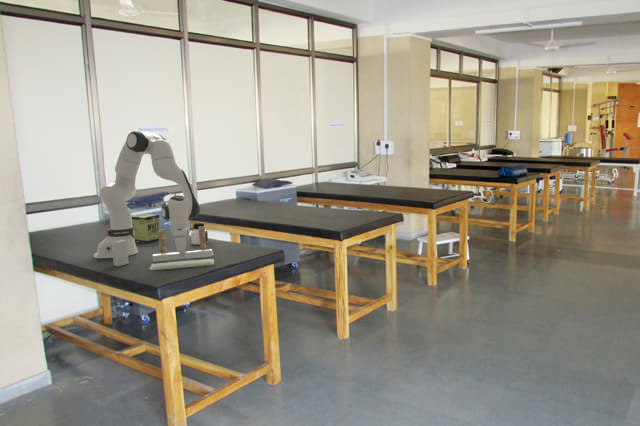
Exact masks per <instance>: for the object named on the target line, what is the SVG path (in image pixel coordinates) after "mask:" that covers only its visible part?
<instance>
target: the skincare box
mask: <svg viewBox="0 0 640 426" xmlns="http://www.w3.org/2000/svg"><path fill="white" fill-rule="evenodd" d="M111 244H112V253H113V258H112V262H113V266H115V267H120V266H121V267H122V266H125V265H129V264H130V263H129V256H128V250H127V241H126V240H119V241H115V242H111Z"/></svg>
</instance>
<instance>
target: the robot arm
mask: <svg viewBox="0 0 640 426" xmlns="http://www.w3.org/2000/svg"><path fill="white" fill-rule="evenodd" d="M144 155H150V159H151V165H152V167H153V172H154V174H155V175H156V176H157V177H159V178H162V179H163V180H166V181H170V182H173V183H176V184H178V185H179V188H180V189H181V191H182V194H183V195H178V194H177V195H172V196H170V197H169V199H168V201H166V202H164V203H163V204H162V205H161V207H160V209H161V217H162V218H163V219H164V220H165V221H169V222H170V233H171V235H172V237H174V243H175V248H176V252H180V257H181V259H180V260H185V259H184V252H185V251H186V246H187V237H188V235H189V233H191V227H190V220H195V219H196V218H197V217H198V216H199V215H200V212H201V208H200V205H199V202H198V201H197V199H196V196H195V194H194V192H193V189H192V187H191V185H190V181H189V179H188V177H187V175H186V173H185V171H184V170H183V169H182V168H180V167H179V165H178V164H177V163H176V159H175V155H174V152H173V149H172V147H171V144H170V142H169V141H168V140H167V138H165V137H164V136H163V135H161V134H156V133H153V132H148V131H147V132H146V131H140V130H134V131H133V130H132V131H131V132H130V133H128V135H127V136H126V141H125V142H124V144H123V145H122V147H121V150H120V152H119V155H118V157H117V161H116V164H115V167H114V172H115V180H114V182H111V183H108V184H106V185H104V186H103V187H102V188H101V189H100V190H99V199H100V201H101V202H102V203H104V204H105V207H106V210H107V212H108V216H109V225H110V228H108V229H107V230H106V231H107V232H106V234H107V236H106V237H105V238H104V239H102V241H101V242H99V243H98V245H97V252H95V253H94V254H93V259H113V253H112V244H111V242H115V241H119V240H126V241H127V250H128V257H130V256H132V255H136V254H138V253H139V250H138V247H137V244H136V242H135V239H134V237H135V233H134V227H133V224H132V216H133V214H132V212H131V211H130V210H129V208H128V206H127V202H126V201H130V200H131V199H133V198H134V197H135V195H136V194H137V187H136V178H137V175H138V171H139V168H140V166H141V162H142V158H143V156H144Z"/></svg>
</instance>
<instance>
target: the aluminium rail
mask: <svg viewBox="0 0 640 426" xmlns="http://www.w3.org/2000/svg"><path fill="white" fill-rule="evenodd" d="M212 251H213V248H209V249H207V248H206V250H200V249H198V250H189V251H188V250H187V251H186V250H185V252H184V259H183V260H187V259H188V260H189V259H200V257H202V258H211V256H212ZM177 260H182V259H181V257H180V252H177V251H176V252H175V251H174V252H167V253H163V254H160V253H154V254H152V262H153V263H157V262H165V261H166V262H167V261H168V262H169V261H177Z"/></svg>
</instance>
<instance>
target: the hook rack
mask: <svg viewBox="0 0 640 426" xmlns="http://www.w3.org/2000/svg"><path fill="white" fill-rule="evenodd" d="M205 228H206V226H205V225H204V226H201V227H199V240H200V244H199V250H207V243H206V240H205V230H206V229H205ZM166 237H167V236H166V229H165V228H162V229H161V228H160V229H159V231H158V239H159V240H158V243H159V244H158V245H159V254H163V253H168V251H167V240H166ZM211 257H215V255H214V251H213V250H212V256H211ZM211 257H210V258H211ZM200 258H203V257H200ZM200 258H199V259H200Z"/></svg>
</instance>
